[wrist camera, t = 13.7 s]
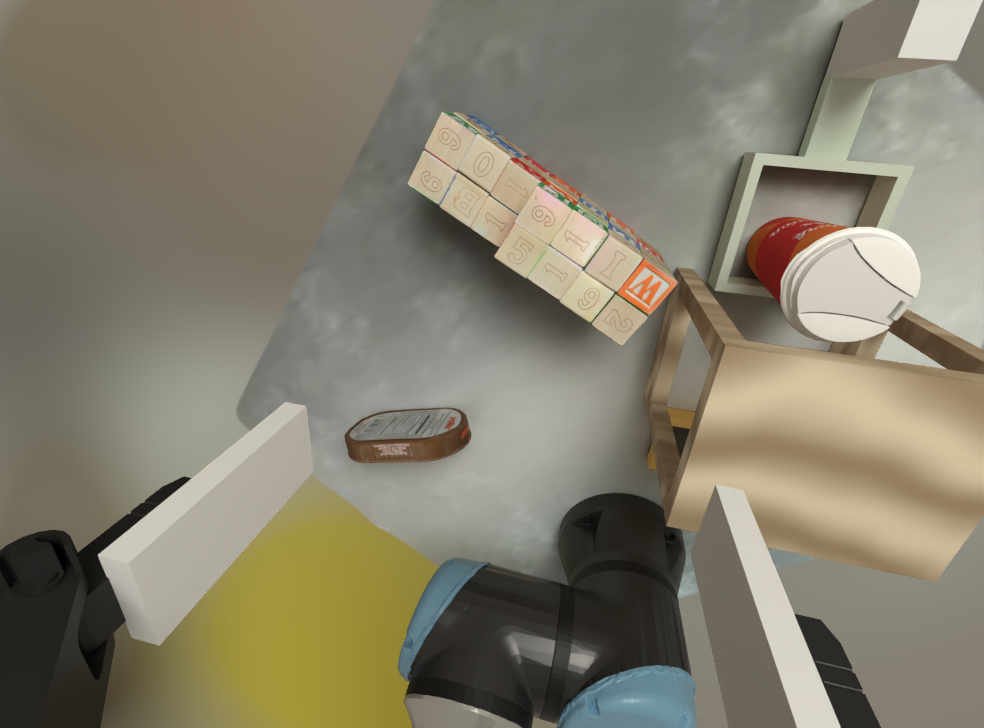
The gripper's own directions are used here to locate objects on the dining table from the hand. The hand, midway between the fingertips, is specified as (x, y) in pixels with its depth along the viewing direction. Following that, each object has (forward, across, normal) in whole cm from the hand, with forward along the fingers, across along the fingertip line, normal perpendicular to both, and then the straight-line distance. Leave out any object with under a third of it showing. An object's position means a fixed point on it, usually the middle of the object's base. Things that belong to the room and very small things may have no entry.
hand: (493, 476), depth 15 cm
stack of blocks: (+35, +2, -4) cm, 35 cm away
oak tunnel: (+35, -19, +7) cm, 40 cm away
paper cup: (+35, -19, -3) cm, 40 cm away
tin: (+35, +15, +22) cm, 44 cm away
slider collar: (+34, -19, -9) cm, 40 cm away
